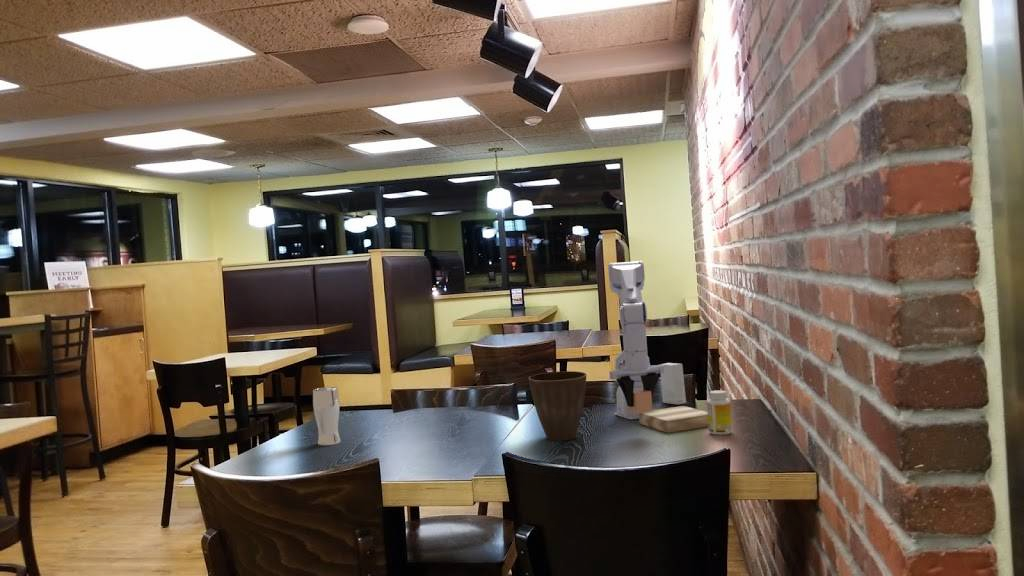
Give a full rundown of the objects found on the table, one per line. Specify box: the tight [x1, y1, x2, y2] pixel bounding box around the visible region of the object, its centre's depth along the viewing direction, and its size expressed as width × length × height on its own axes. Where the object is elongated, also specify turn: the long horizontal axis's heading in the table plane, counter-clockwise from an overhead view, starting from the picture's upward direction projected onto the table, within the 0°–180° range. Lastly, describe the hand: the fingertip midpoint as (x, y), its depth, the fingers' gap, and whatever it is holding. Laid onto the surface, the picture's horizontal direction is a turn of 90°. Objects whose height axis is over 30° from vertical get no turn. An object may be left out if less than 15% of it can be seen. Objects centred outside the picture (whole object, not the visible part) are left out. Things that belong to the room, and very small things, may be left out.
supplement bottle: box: [706, 389, 733, 436], centre depth 175 cm, size 6×6×10 cm
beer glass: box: [312, 386, 341, 447], centre depth 196 cm, size 7×7×15 cm
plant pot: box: [527, 370, 587, 442], centre depth 183 cm, size 15×15×16 cm
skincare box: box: [659, 362, 687, 406], centre depth 218 cm, size 6×4×12 cm
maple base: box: [638, 405, 709, 434], centre depth 188 cm, size 14×14×3 cm
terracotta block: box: [627, 389, 653, 414], centre depth 178 cm, size 4×4×5 cm
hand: (639, 404), depth 178 cm, fingers closed on terracotta block, 4 cm apart
